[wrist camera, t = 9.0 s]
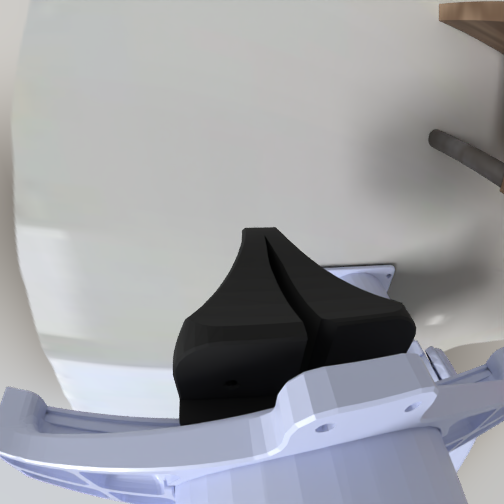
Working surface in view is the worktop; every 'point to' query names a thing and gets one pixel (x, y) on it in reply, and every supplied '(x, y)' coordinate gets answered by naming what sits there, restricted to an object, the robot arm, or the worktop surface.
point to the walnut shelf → (498, 37)
